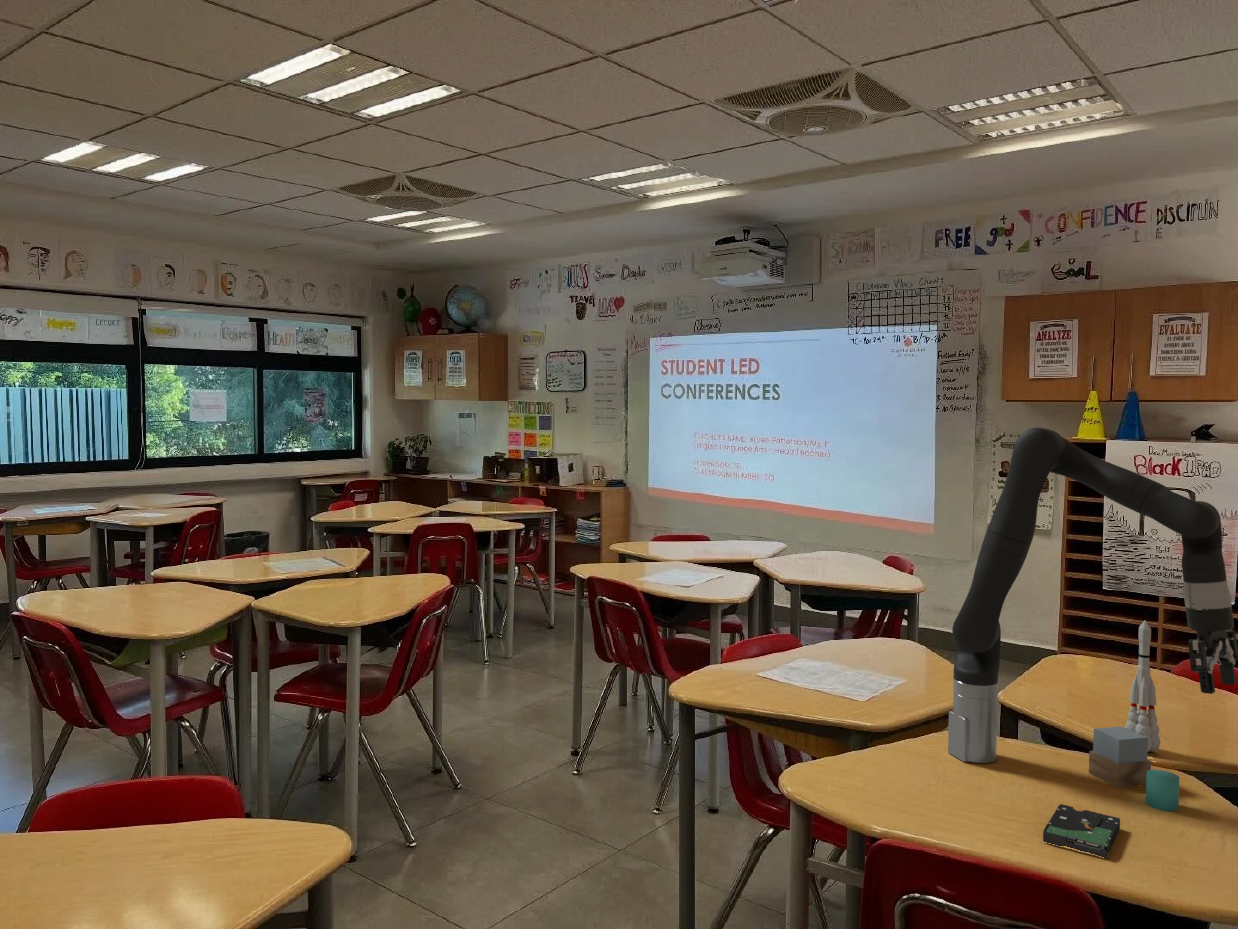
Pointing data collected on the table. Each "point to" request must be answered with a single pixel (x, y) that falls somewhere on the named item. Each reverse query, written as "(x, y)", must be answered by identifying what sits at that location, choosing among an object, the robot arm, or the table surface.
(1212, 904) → the table surface
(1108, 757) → the middle block
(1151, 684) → the rocket model
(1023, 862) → the table surface
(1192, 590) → the robot arm
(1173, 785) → the teal upright cylinder
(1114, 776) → the base block
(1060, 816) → the disk drive
